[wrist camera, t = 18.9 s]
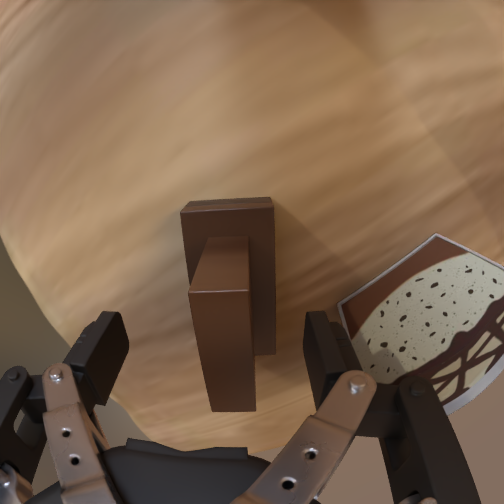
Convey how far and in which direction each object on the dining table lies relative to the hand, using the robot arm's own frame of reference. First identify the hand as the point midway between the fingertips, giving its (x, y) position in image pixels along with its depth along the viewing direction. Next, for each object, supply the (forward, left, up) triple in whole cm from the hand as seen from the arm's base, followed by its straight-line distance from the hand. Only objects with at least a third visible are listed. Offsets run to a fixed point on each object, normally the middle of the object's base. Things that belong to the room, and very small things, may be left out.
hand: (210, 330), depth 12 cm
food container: (+4, +14, -8) cm, 16 cm away
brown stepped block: (+1, +1, -8) cm, 8 cm away
